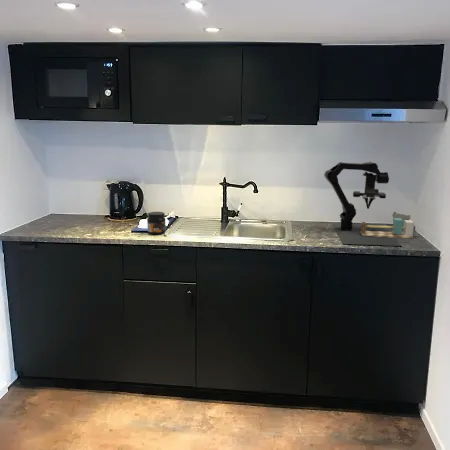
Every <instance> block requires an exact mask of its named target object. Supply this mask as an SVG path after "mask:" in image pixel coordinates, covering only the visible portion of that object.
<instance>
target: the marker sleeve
mask: <svg viewBox="0 0 450 450" xmlns="http://www.w3.org/2000/svg"><path fill="white" fill-rule="evenodd" d="M402 225H403V220H402V219H401V218H394V219H393V218H392V226H394V229H392V228H391V229H392V231H391V232H393V233H394V234H396V235H402V232H403V231H402Z"/></svg>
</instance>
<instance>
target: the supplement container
mask: <svg viewBox="0 0 450 450" xmlns="http://www.w3.org/2000/svg"><path fill="white" fill-rule="evenodd" d="M146 221H147V224H146V225H147V233H148V234H149V235H151V236H160V235H165V233H166V218H165V212H164V211H150V212H148V213H147V218H146Z"/></svg>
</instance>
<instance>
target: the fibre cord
mask: <svg viewBox="0 0 450 450" xmlns="http://www.w3.org/2000/svg"><path fill="white" fill-rule="evenodd" d="M366 228H376V229H394V226H393V225H391V226H389V225H372V224H370V225H369V224H366ZM402 229H405V227H402Z"/></svg>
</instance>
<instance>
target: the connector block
mask: <svg viewBox="0 0 450 450" xmlns="http://www.w3.org/2000/svg"><path fill="white" fill-rule="evenodd" d="M403 227H405V229H403V231H402V232H403V234H404V235H405V236H413V237H414V235H413V234H414V232H416V225H414V221H413V220H411V219H410V220H404V223H403Z"/></svg>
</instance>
